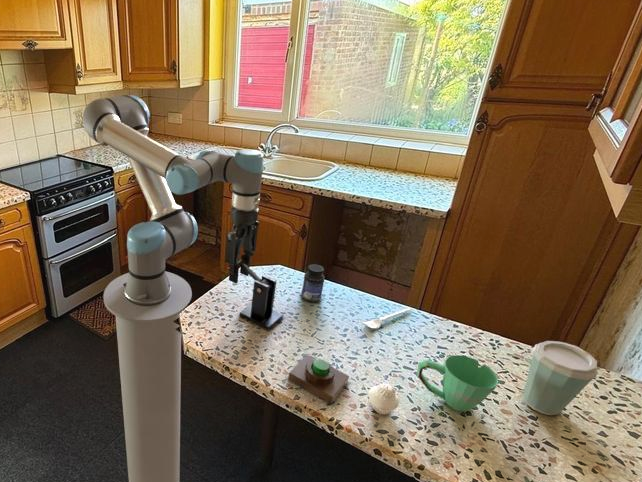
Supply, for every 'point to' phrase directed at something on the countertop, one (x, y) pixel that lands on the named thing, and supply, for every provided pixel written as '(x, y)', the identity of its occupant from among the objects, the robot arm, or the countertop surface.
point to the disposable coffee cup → (557, 376)
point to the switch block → (318, 379)
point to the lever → (252, 273)
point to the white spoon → (383, 319)
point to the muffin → (383, 398)
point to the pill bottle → (313, 283)
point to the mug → (461, 381)
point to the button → (320, 367)
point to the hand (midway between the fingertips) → (238, 277)
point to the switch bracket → (262, 305)
